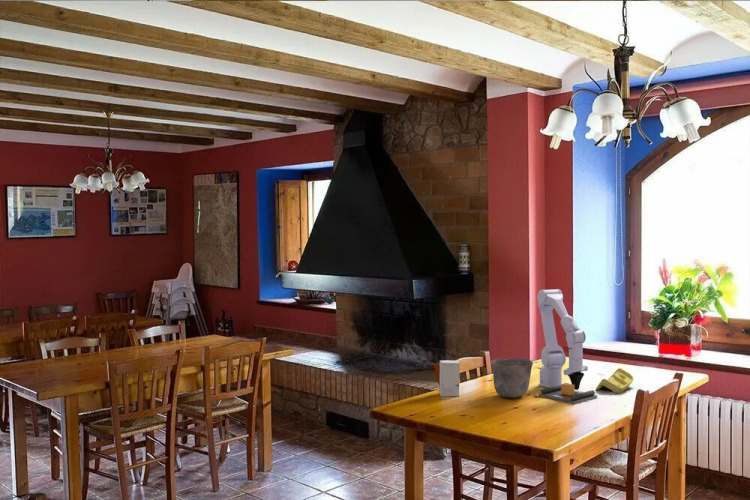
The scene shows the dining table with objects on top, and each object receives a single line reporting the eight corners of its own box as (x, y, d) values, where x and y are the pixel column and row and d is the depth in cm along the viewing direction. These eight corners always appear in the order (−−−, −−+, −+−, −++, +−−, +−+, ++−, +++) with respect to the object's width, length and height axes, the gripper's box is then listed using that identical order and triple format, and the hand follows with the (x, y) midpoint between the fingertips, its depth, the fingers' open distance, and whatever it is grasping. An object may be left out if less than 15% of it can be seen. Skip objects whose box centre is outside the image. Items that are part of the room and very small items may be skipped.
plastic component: (621, 389, 299) (600, 376, 305) (614, 403, 302) (594, 390, 307) (636, 377, 315) (616, 365, 320) (630, 390, 317) (610, 379, 323)
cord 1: (539, 393, 298) (539, 388, 298) (561, 388, 307) (561, 383, 307) (543, 394, 296) (543, 389, 296) (565, 388, 305) (565, 384, 305)
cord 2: (568, 400, 286) (568, 395, 286) (590, 394, 295) (590, 389, 295) (573, 401, 284) (573, 396, 284) (594, 395, 293) (594, 390, 293)
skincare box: (440, 397, 298) (440, 362, 298) (439, 393, 304) (438, 359, 304) (460, 396, 299) (460, 362, 298) (458, 393, 305) (457, 359, 304)
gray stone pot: (502, 389, 310) (502, 356, 310) (539, 394, 300) (539, 360, 300) (484, 397, 296) (484, 362, 295) (523, 403, 286) (523, 367, 285)
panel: (538, 395, 298) (538, 392, 298) (562, 390, 308) (562, 387, 308) (574, 404, 284) (574, 401, 284) (597, 397, 294) (597, 394, 294)
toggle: (561, 393, 297) (561, 383, 296) (565, 392, 299) (565, 382, 298) (569, 395, 293) (569, 384, 293) (574, 394, 295) (574, 383, 295)
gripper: (573, 361, 291) (573, 393, 292) (593, 357, 300) (593, 388, 300) (559, 359, 297) (559, 390, 297) (579, 354, 306) (579, 385, 306)
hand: (575, 389), depth 299 cm, fingers closed
